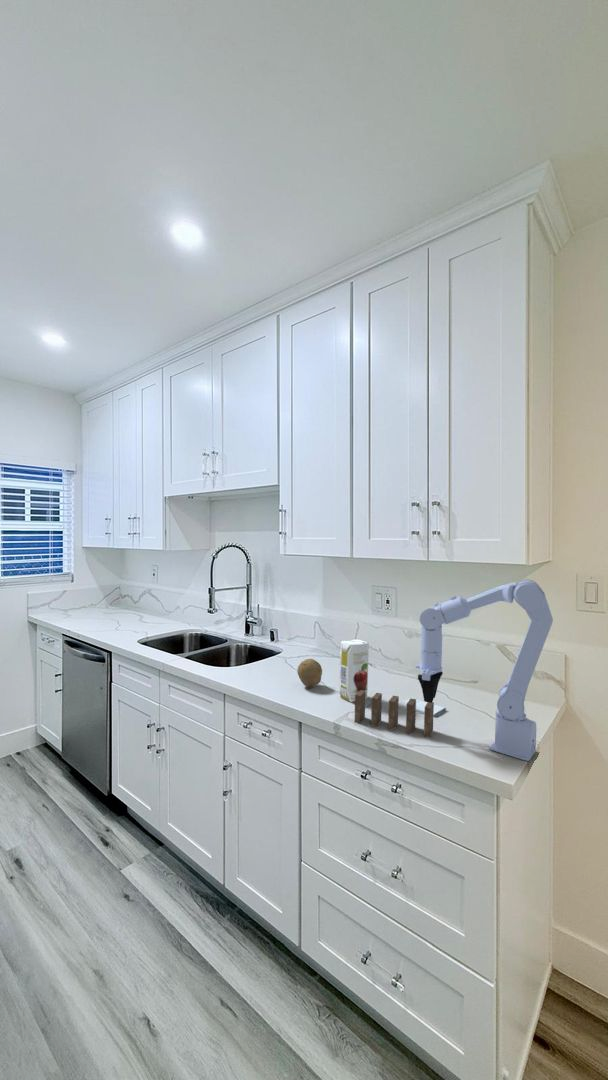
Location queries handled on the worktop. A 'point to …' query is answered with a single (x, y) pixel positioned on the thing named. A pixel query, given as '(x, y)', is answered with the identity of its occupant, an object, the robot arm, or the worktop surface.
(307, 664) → the brown round lump
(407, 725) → the domino
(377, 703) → the domino
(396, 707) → the domino
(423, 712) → the external hard drive
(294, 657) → the worktop surface
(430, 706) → the domino
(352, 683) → the juice carton
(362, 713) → the domino
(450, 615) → the robot arm
